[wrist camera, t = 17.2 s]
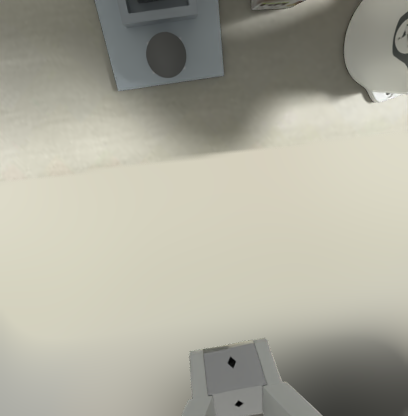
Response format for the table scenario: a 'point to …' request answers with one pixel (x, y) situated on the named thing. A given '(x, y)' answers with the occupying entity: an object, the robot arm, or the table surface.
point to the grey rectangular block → (145, 0)
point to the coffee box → (273, 4)
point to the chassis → (153, 24)
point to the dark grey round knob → (166, 54)
